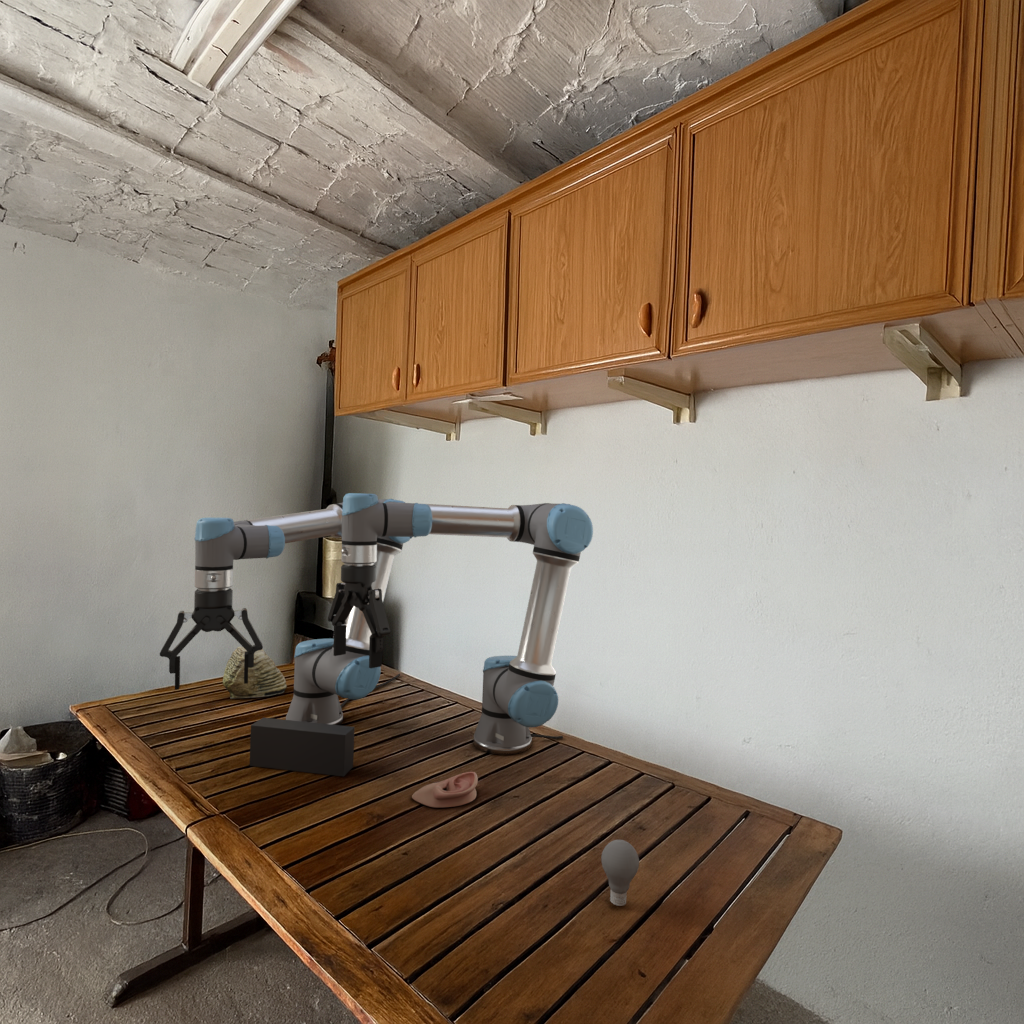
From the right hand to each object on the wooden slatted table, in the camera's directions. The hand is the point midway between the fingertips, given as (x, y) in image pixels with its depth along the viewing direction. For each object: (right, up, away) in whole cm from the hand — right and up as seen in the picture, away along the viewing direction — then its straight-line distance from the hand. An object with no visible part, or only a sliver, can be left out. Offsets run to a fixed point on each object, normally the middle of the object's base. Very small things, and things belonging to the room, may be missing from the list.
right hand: (356, 660), depth 138 cm
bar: (-15, -27, +10) cm, 32 cm away
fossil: (-47, -25, +60) cm, 80 cm away
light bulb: (+51, -31, -36) cm, 70 cm away
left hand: (-32, -5, 0) cm, 32 cm away
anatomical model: (+20, -29, -2) cm, 35 cm away
